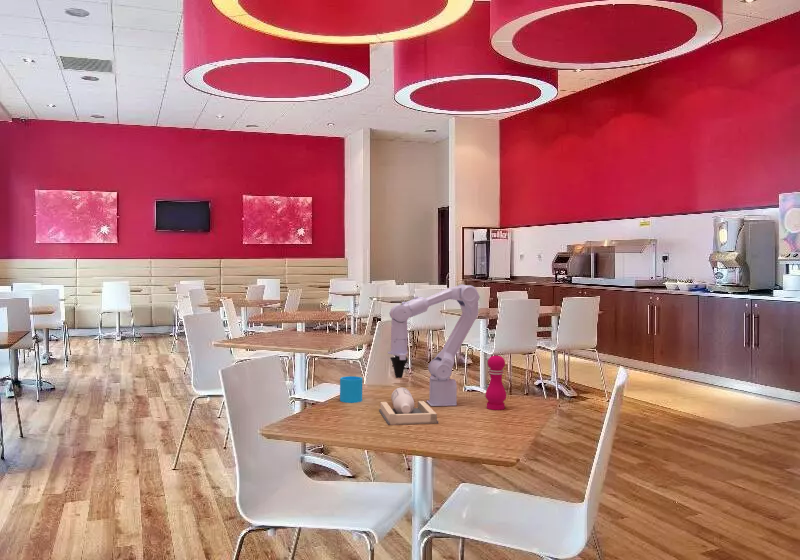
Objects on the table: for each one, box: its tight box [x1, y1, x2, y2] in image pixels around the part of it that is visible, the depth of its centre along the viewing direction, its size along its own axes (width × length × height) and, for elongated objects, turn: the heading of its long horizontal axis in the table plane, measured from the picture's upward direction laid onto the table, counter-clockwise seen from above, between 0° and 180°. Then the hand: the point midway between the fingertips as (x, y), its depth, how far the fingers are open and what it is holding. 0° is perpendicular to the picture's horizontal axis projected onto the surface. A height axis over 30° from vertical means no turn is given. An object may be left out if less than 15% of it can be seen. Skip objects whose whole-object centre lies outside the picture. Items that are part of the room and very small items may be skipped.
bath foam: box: [391, 386, 415, 414], centre depth 226 cm, size 7×7×20 cm
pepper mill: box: [484, 350, 507, 411], centre depth 238 cm, size 7×7×20 cm
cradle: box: [378, 400, 439, 426], centre depth 224 cm, size 16×20×3 cm
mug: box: [339, 375, 363, 404], centre depth 250 cm, size 12×8×8 cm
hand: (398, 377), depth 240 cm, fingers closed
